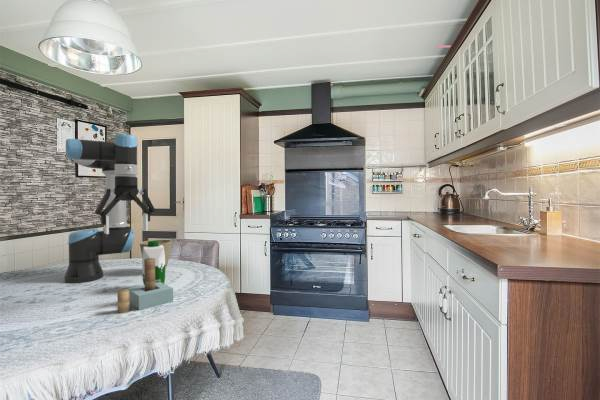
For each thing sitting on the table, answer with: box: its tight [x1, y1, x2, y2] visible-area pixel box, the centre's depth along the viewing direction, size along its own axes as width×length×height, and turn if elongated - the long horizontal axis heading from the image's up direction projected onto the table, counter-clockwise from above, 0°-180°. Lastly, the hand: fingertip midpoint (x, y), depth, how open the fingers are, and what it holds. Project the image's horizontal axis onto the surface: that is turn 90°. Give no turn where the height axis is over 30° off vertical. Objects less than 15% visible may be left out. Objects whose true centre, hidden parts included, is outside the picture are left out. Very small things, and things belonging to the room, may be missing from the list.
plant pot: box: [139, 239, 173, 271], centre depth 157 cm, size 15×15×16 cm
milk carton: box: [141, 240, 166, 285], centre depth 131 cm, size 9×9×20 cm
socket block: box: [127, 282, 174, 311], centre depth 116 cm, size 12×12×5 cm
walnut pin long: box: [144, 258, 155, 292], centre depth 115 cm, size 4×4×16 cm
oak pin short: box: [116, 288, 131, 314], centre depth 106 cm, size 4×4×7 cm
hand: (126, 231), depth 117 cm, fingers open, 13 cm apart
